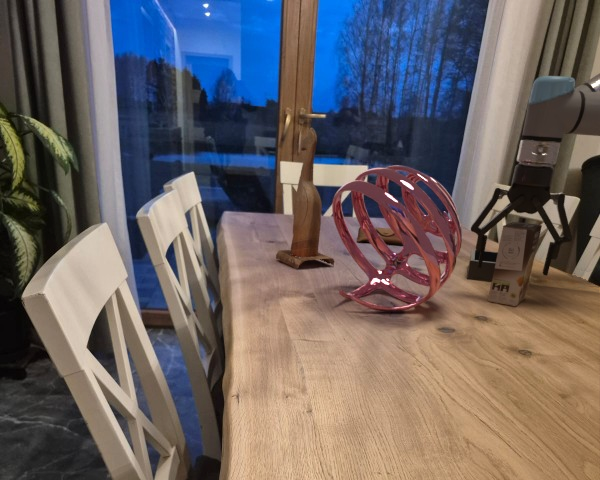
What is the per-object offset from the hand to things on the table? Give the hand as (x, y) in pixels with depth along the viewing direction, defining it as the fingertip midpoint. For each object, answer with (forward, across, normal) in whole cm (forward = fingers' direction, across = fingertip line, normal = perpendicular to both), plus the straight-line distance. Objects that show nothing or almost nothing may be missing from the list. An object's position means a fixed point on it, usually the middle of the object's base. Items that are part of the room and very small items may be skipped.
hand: (511, 270), depth 124 cm
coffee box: (+7, 0, 0) cm, 7 cm away
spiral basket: (+7, -24, -14) cm, 28 cm away
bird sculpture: (+7, -50, +12) cm, 52 cm away
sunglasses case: (+7, -35, +52) cm, 63 cm away
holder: (+7, -3, +23) cm, 24 cm away
